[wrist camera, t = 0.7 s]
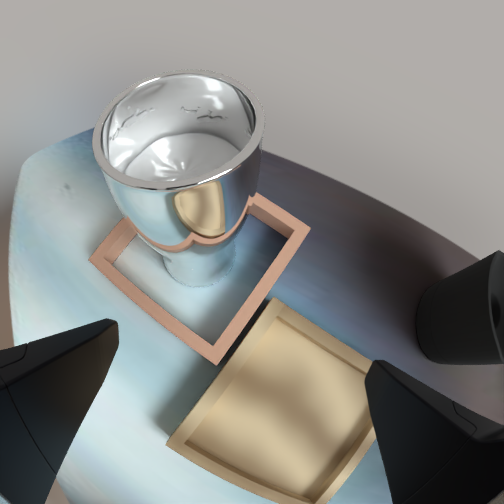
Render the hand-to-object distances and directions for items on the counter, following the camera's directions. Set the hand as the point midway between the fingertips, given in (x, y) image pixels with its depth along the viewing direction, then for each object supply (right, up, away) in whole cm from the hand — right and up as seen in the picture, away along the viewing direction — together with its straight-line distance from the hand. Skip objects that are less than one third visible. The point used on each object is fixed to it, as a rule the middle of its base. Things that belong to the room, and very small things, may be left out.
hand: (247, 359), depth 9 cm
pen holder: (+20, -4, +15) cm, 25 cm away
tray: (+3, -10, +11) cm, 15 cm away
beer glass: (-4, +3, +15) cm, 16 cm away
